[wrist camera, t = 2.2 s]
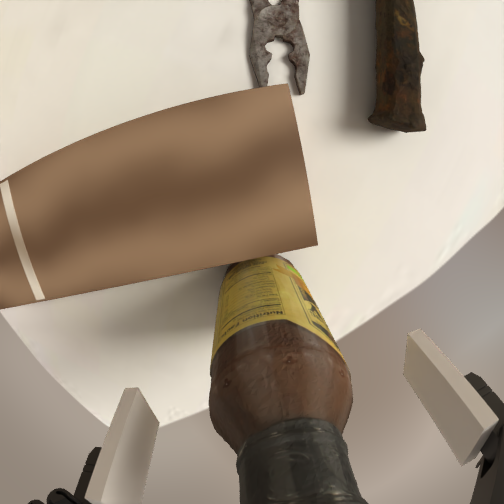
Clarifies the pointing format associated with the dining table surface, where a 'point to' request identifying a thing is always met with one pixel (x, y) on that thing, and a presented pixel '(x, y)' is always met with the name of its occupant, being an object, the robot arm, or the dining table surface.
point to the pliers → (283, 26)
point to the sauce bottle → (280, 388)
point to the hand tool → (398, 68)
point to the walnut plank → (158, 199)
